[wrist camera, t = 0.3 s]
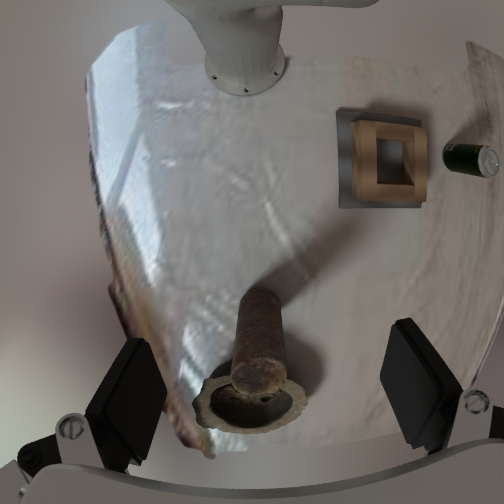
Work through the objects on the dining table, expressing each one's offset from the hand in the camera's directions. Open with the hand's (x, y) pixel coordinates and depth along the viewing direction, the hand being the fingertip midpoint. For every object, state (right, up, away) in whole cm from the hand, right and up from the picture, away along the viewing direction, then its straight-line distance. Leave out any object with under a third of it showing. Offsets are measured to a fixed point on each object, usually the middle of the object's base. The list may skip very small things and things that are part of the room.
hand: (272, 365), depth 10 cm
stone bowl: (-1, -27, +48) cm, 55 cm away
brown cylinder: (+1, -5, +40) cm, 41 cm away
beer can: (+37, +22, +30) cm, 52 cm away
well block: (+21, +19, +31) cm, 42 cm away
